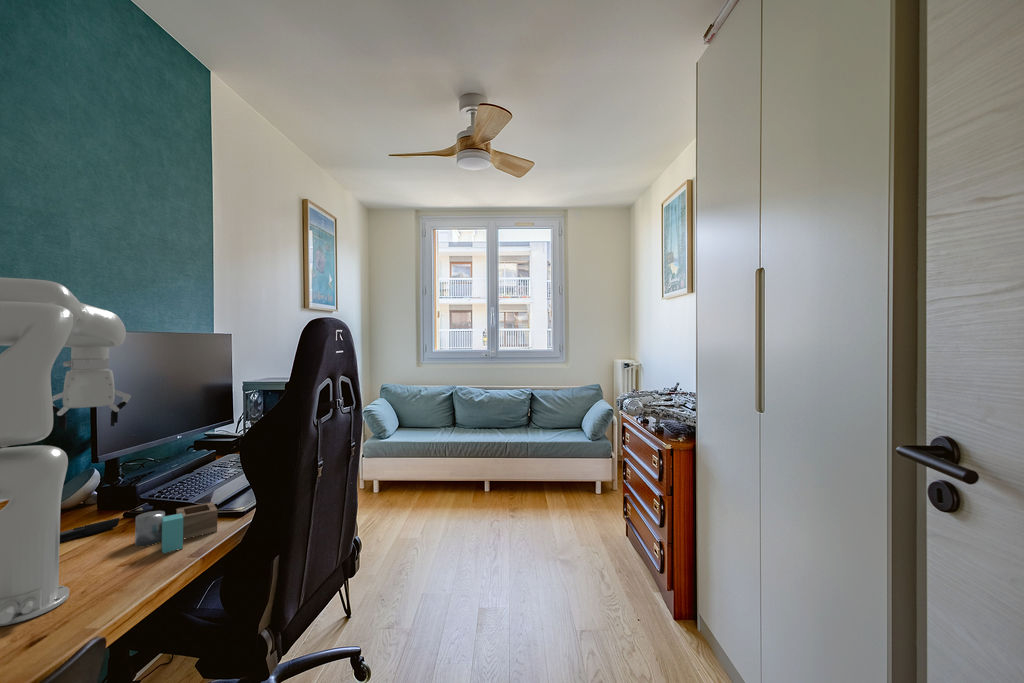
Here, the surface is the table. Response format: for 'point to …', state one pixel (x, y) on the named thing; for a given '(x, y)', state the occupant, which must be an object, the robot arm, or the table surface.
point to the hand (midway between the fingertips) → (88, 427)
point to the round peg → (148, 528)
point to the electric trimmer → (88, 529)
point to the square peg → (172, 532)
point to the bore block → (198, 519)
